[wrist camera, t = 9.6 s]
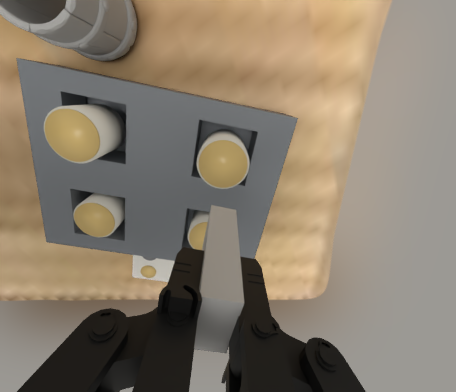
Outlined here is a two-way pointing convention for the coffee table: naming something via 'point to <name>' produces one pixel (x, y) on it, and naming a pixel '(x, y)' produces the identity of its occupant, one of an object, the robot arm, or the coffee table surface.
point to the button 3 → (198, 229)
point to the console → (150, 161)
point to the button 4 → (223, 159)
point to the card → (152, 268)
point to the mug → (77, 24)
